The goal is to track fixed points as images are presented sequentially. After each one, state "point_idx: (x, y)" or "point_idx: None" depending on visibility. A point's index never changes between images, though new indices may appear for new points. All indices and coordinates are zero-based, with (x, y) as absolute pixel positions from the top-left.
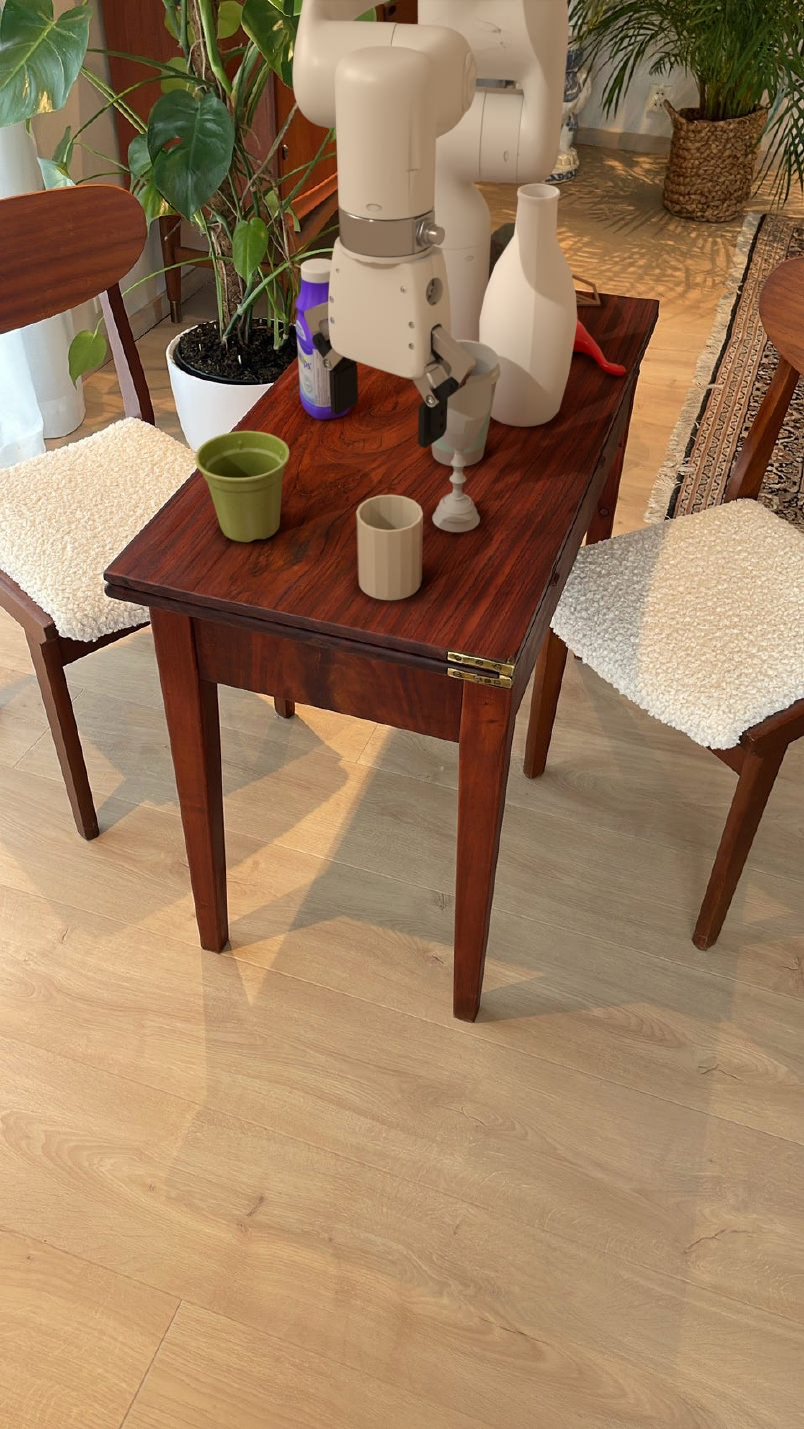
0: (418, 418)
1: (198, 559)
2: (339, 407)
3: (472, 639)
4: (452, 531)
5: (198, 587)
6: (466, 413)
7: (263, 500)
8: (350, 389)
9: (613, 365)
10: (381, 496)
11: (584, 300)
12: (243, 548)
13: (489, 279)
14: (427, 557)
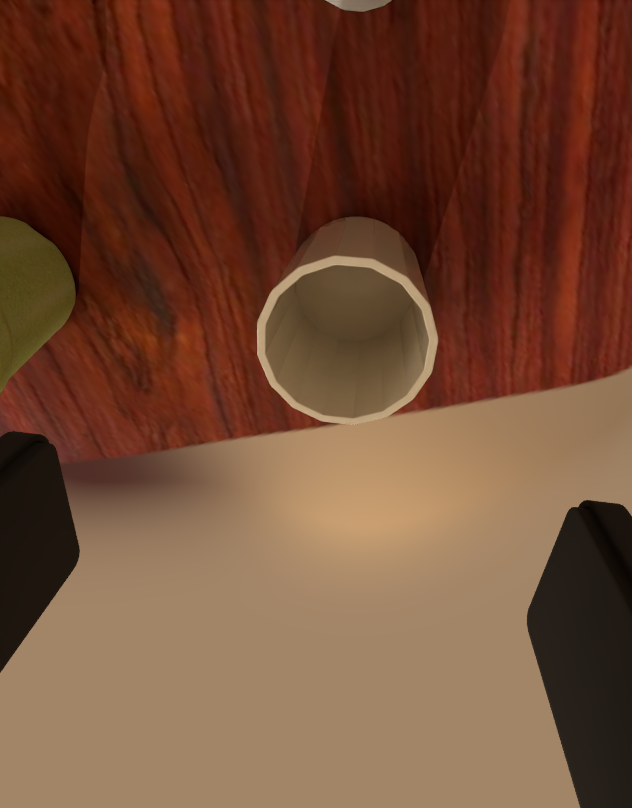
0: (568, 765)
1: (44, 399)
2: (61, 573)
3: (581, 354)
4: (384, 3)
5: (106, 451)
6: None
7: (27, 344)
8: (3, 556)
9: None
10: (280, 291)
11: None
12: (69, 338)
13: None
14: (381, 157)
